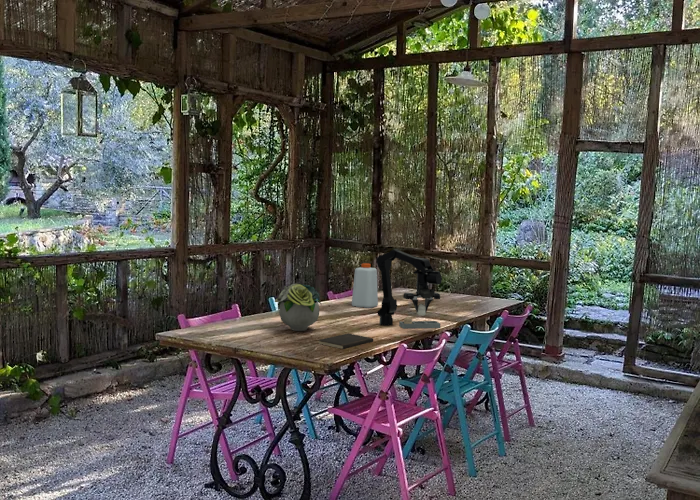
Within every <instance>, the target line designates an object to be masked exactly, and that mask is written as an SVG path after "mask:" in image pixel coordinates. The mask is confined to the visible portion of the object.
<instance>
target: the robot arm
mask: <svg viewBox="0 0 700 500" xmlns="http://www.w3.org/2000/svg"><path fill="white" fill-rule="evenodd" d="M396 259H397V260H400V261H402V262H404V263H405V262H406V263H407V264H410V265H411V266H412V267H414V268H415V269H416V270H415V271H413V274H414V275H416V284H415V287H416V291H415V293H412V292H404V293H403V296H402V297H403V299H405V300H410V301H412V304H413V306H414V309H415V311H416V313H417V312H418V305H419V299H418V298H420V299H424V305H425V307H426V312H427V311H428V309H429V306H430V305H431V304H430V303H432V302H433V301H434V300H441V294H440V293H439V292H435V289H434V288H429V286H430V285H437V286H438V285H441V284H442V281H443V276H442V274H441V271H439V270H438V271H436V270H434V268H433V266H432V265H431V261H430V260H429V259H428V258H423V257H416V256H414V255H411V254H409V253H406V252H404V251H401V250H399V249H397V248H396V249H392V250H390V251H389V252H388V251H387V252H386V253H384V254H379V255H378V256H377V257H376V266H377V268H378V269H379V271H380V276H381V288H382V294H383V295H382V296H383V298H382V301H381V305H380V306H381V308H380V309H378V311H377V312H376V313H377V316H379V322H378V323H379V325H380V326H386V327H388V326H393V325H394V320H393V319H394V318H393V316H394V315H395V312H396V311H397V308H398V307H399V306H398V300H397V299H396V298H395V299H394V297H393V288H392V278H391V268H392V262H394V261H395V260H396Z"/></svg>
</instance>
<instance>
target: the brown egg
mask: <svg viewBox="0 0 700 500" xmlns="http://www.w3.org/2000/svg"><path fill="white" fill-rule="evenodd" d="M403 321H404V324H412V321H413V320H412V317H410V316H406V317H404V319H403Z"/></svg>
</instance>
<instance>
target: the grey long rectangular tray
mask: <svg viewBox="0 0 700 500" xmlns="http://www.w3.org/2000/svg"><path fill="white" fill-rule="evenodd" d="M398 326H399V327H400V328H401V329H403V330H406V329H408V330H409V329H410V330H411V329H417V330H418V329H441V322H438V321H436V320H412V324H404V320H403V321H401V320H400V321H399V322H398Z"/></svg>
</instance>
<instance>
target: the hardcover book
mask: <svg viewBox="0 0 700 500" xmlns="http://www.w3.org/2000/svg"><path fill="white" fill-rule="evenodd" d="M317 341H318V344H319V345H322V344H323V345H324V346H327V347H328V346H329V347H332V348H336V349H337V348H338V349H341V350H345V349H349V348H353V347H357V346H361V345H362V346H363V345H365V344H370V343H373V342H374V338H373V337H370V336H365V335H360V334H359V335H358V334H353V333H349V332H348V333H344V334H339V335H334V336H329V337H325V338H320V339H317ZM323 345H322V346H323Z"/></svg>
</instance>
